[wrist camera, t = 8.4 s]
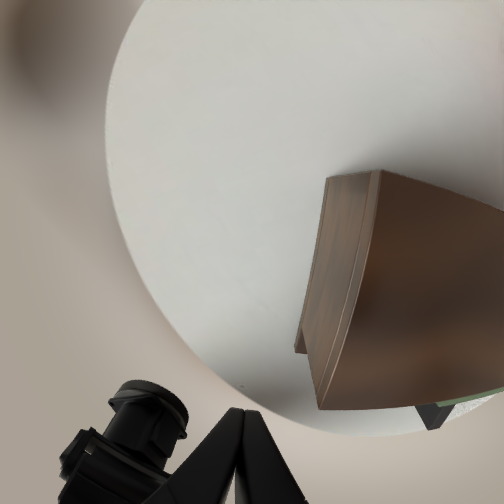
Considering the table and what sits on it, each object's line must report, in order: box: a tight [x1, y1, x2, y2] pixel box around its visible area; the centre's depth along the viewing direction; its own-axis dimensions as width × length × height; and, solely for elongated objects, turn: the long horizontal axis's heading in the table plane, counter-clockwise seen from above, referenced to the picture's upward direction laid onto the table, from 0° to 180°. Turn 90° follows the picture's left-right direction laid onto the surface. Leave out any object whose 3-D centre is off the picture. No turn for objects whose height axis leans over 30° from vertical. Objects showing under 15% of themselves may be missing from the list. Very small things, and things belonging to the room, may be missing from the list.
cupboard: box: [294, 170, 504, 410], centre depth 14 cm, size 12×18×9 cm
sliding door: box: [415, 387, 504, 430], centre depth 15 cm, size 3×9×6 cm, turn 82°
